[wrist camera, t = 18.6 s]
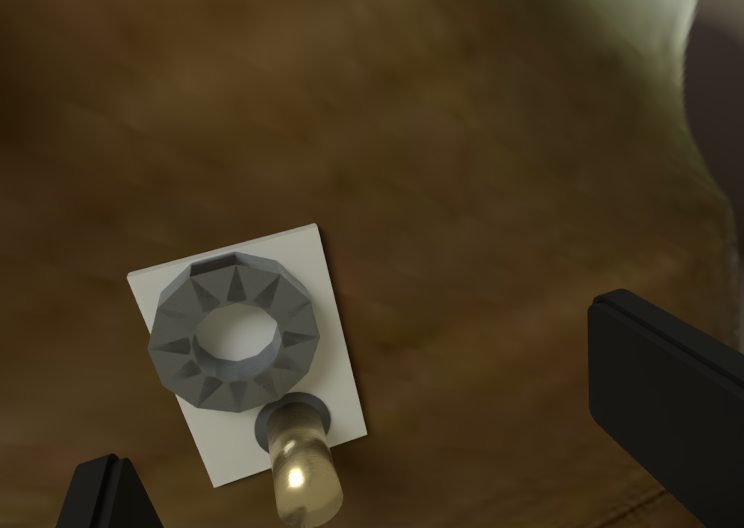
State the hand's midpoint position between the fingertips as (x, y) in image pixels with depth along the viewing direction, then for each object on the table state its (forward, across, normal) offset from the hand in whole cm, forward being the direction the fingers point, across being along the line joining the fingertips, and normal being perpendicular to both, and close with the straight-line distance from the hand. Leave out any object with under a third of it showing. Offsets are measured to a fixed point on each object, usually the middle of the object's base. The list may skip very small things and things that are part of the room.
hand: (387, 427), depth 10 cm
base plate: (+33, +4, +18) cm, 38 cm away
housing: (+32, +6, +13) cm, 35 cm away
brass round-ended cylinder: (+32, +3, +24) cm, 40 cm away
